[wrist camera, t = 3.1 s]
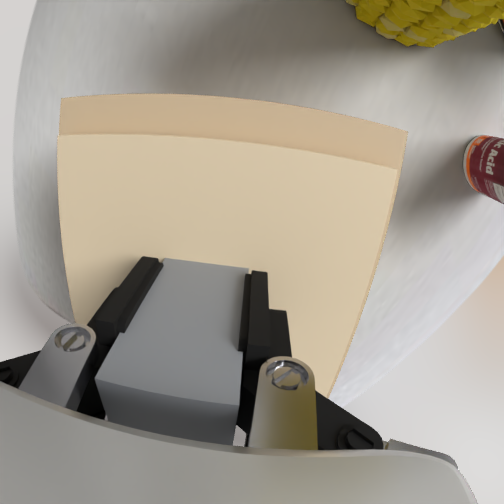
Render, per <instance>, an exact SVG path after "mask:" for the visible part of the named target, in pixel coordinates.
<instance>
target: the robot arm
mask: <svg viewBox="0 0 504 504" xmlns="http://www.w3.org/2000/svg"><path fill="white" fill-rule="evenodd" d="M163 266H164V265H163V263H160V262H159V259H158V258H153V257H146V256H142V257H141V259H140V260H139V261H138V262H137V264H136V265H135V266H134V268H133V269H132V270H131V271H130V273H129V274H128V275H127V277H126V278H125V279H124V281H123V282H122V283H121V284H120V286H119V287H116V288H114V289H113V290H112V292H111V293H110V294H109V295H108V297H107V298H106V299H105V301H104V302H103V303H102V305H101V306H100V307H99V309H98V310H97V311H96V313H95V314H94V316H93V317H92V318H91V320H90V321H89V322H88V324H87V325H83V324H77V323H73V324H67V325H64V326H61V327H60V328H58V329H56V330H55V331H54V332H53V333H52V335H51V336H50V338H49V339H48V341H47V342H46V344H45V346H44V347H43V349H42V350H41V351H37V352H34V353H30V354H27V355H23V356H20V357H17V358H14V359H9V360H6V361H3V362H0V504H478V503H477V501H476V499H475V496H474V494H473V492H472V490H471V488H470V486H469V485H468V483H467V481H466V479H465V478H464V476H463V475H462V474H461V473H460V471H459V470H458V467H457V464H456V463H455V461H454V460H453V459H452V458H451V457H450V456H448V455H446V454H443V453H440V452H436V451H432V450H428V449H424V448H420V447H417V446H413V445H409V444H406V443H403V442H399V441H396V440H393V439H390V440H389V441H388V442H386V441H383V440H382V438H381V437H380V435H379V434H378V432H377V431H375V430H374V429H373V428H372V427H370V426H369V425H367V424H366V423H364V422H362V421H361V420H359V419H358V418H356V417H355V416H353V415H352V414H350V413H349V412H347V411H346V410H344V409H343V408H341V407H340V406H338V405H337V404H335V403H334V402H332V401H331V400H329V399H328V398H326V397H325V396H323V395H322V394H320V393H319V392H317V391H316V390H315V377H314V374H313V371H312V370H311V368H310V367H309V366H308V365H307V364H305V363H304V362H303V361H300V360H298V359H296V358H292V352H291V343H290V335H289V326H288V318H287V312H286V310H276V309H269V295H268V273H267V272H263V271H255V270H252V272H251V274H245V281H244V291H243V302H242V312H241V323H240V334H239V345H238V351H239V352H243V358H242V372H241V386H240V400H239V409H238V415H237V422H236V425H238V426H239V427H240V428H241V429H242V430H243V431H244V432H245V433H246V439H245V444H244V447H242V446H232V445H223V444H215V443H208V442H201V441H195V440H189V439H183V438H177V437H172V436H166V435H161V434H157V433H152V432H147V431H143V430H139V429H135V428H131V427H127V426H123V425H119V424H115V423H112V422H109V421H108V418H107V415H106V413H105V410H104V407H103V404H102V401H101V397H100V394H99V391H98V388H97V385H96V381H95V377H96V375H97V373H98V371H99V369H100V367H101V366H102V364H103V362H104V360H105V358H106V356H107V355H108V353H109V351H110V349H111V347H112V346H113V344H114V342H115V340H116V339H117V337H118V335H119V333H125V332H126V330H127V328H128V326H129V324H130V323H131V321H132V319H133V317H134V316H135V314H136V312H137V310H138V309H139V307H140V305H141V303H142V302H143V300H144V298H145V297H146V295H147V293H148V291H149V290H150V288H151V286H152V285H153V283H154V281H155V280H156V278H157V276H158V275H159V273H160V271H161V270H162V268H163Z"/></svg>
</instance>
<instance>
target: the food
mask: <svg viewBox="0 0 504 504" xmlns="http://www.w3.org/2000/svg"><path fill="white" fill-rule="evenodd" d="M346 2H347V3H349V4H351V5H354V6H355V9H356V16H357V19H359V20H361V21H363V22H365V23H367V24H369V25H371V26H373V27H375V25H376V32H377V33H378V34H380V35H382V36H384V37H385V38H387V39H395V40H396V41H398V42H400V43H402V44H404V45H405V46H407V47H408V46H411V45H414V44H417V46H425V47H433V48H434V46H436V45H437V44H441V43H442V42H444V41H448V40H453V41H454V40H455V38H456V37H458V36H461V35H465V34H467V33H469V32H471V31H473V32H476V30H477V29H478V28H485V27H487V26H488V25H489V24H491V23H492V24H496V23H497V21H498V20H499V19H504V0H346Z"/></svg>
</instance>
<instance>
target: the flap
mask: <svg viewBox="0 0 504 504" xmlns="http://www.w3.org/2000/svg"><path fill="white" fill-rule="evenodd" d="M396 175H397V169H395V168H392V167H388V166H384V165H379V164H375V163H370V162H366V161H361V160H356V159H351V158H346V157H341V156H336V155H331V154H325V153H320V152H314V151H308V150H302V149H296V148H289V147H282V146H275V145H268V144H260V143H252V142H243V141H234V140H224V139H214V138H202V137H188V136H172V135H150V134H68V135H59V136H58V140H57V179H58V203H59V217H60V229H61V239H62V248H63V256H64V263H65V270H66V276H67V283H68V288H69V294H70V299H71V305H72V310H73V314H74V319H75V323H77V324H83V325H87V324H88V322H89V321H90V320H91V318H92V317H93V316H94V314H95V313H96V311H97V310H98V309H99V307H100V306H101V305H102V303H103V302H104V301H105V299H106V298H107V297H108V295H109V294H110V293H111V292H112V290H113V289H114V288H116V287H119V286H120V284H121V283H122V282H123V281H124V279H125V278H126V277H127V275H128V274H129V273H130V271H131V270H132V269H133V268H134V266H135V265H136V264H137V262H138V261H139V260H140V259H141V257H142V256H146V257H153V258H158V259H159V262H160V263H163V265H164V266H163V268H162V270H161V271H160V273H159V275H158V276H157V278H156V280H155V281H154V283H153V285H152V286H151V288H150V290H149V291H148V293H147V295H146V297H145V298H144V300H143V302H142V303H141V305H140V307H139V309H138V310H137V312H136V314H135V316H134V317H133V319H132V321H131V323H130V324H129V326H128V328H127V330H126V332H125V333H119V335H118V337H117V339H116V340H115V342H114V344H113V346H112V347H111V349H110V351H109V353H108V355H107V356H106V358H105V360H104V362H103V364H102V366H101V367H100V369H99V371H98V373H97V375H96V377H95V381H96V385H97V388H98V391H99V394H100V397H101V401H102V404H103V407H104V410H105V413H106V415H107V418H108V421H109V422H112V423H115V424H119V425H123V426H127V427H131V428H135V429H139V430H143V431H147V432H152V433H157V434H161V435H166V436H172V437H177V438H183V439H189V440H195V441H201V442H208V443H215V444H223V445H232V446H233V440H234V434H235V428H236V422H237V415H238V409H239V400H240V386H241V372H242V358H243V352H239V351H238V345H239V334H240V323H241V312H242V302H243V291H244V281H245V274H251V272H252V270H255V271H263V272H267V273H268V295H269V309H276V310H286V312H287V318H288V326H289V335H290V343H291V352H292V358H296V359H298V360H300V361H303V362H304V363H305V364H307V365H308V366H309V367H310V368H311V370H312V371H313V374H314V377H315V390H316V391H317V392H319V393H320V394H322V395H323V396H325V397H327V394H328V392H329V390H330V387H331V385H332V382H333V380H334V378H335V375H336V373H337V370H338V368H339V365H340V363H341V360H342V358H343V355H344V353H345V350H346V347H347V345H348V342H349V339H350V337H351V334H352V331H353V328H354V326H355V323H356V320H357V317H358V314H359V311H360V308H361V305H362V302H363V299H364V296H365V293H366V290H367V287H368V284H369V280H370V277H371V274H372V270H373V267H374V264H375V260H376V257H377V253H378V250H379V246H380V242H381V239H382V235H383V231H384V227H385V223H386V219H387V215H388V211H389V207H390V203H391V198H392V194H393V189H394V185H395V180H396Z"/></svg>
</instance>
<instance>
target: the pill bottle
mask: <svg viewBox="0 0 504 504" xmlns="http://www.w3.org/2000/svg"><path fill="white" fill-rule="evenodd" d="M463 168H464V174H465V177H466V179H467V181H468V183H469V185H470V186H471V187H472V188H473V189H474V190H475V191H477V192H479V193H481V194H483V195H486V196H488V197H490V198H492V199H494V200H496V201H498V202H500V203H502V204H504V139H503V138H498V137H493V136H487V135H480V136H477V137H475V138H474V139H473V140H472V141H471V142H470V143H469V144H468V146H467V148H466V150H465V154H464V159H463Z"/></svg>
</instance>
